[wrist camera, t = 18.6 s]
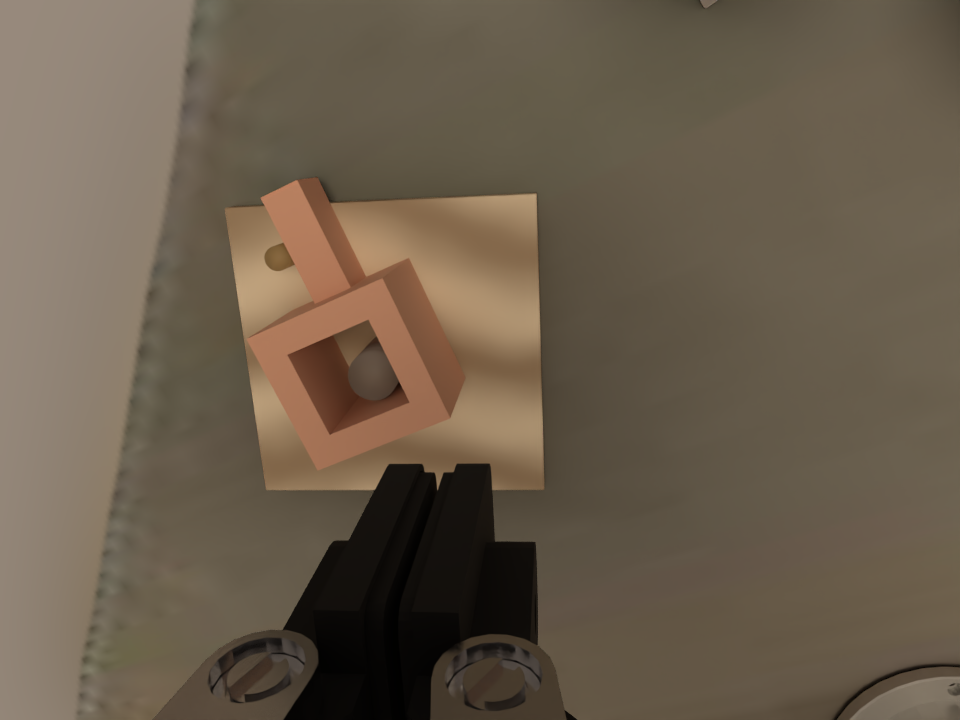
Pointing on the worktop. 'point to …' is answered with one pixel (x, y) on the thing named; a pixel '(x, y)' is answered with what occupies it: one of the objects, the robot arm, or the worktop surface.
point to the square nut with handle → (336, 307)
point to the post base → (462, 315)
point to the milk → (707, 2)
